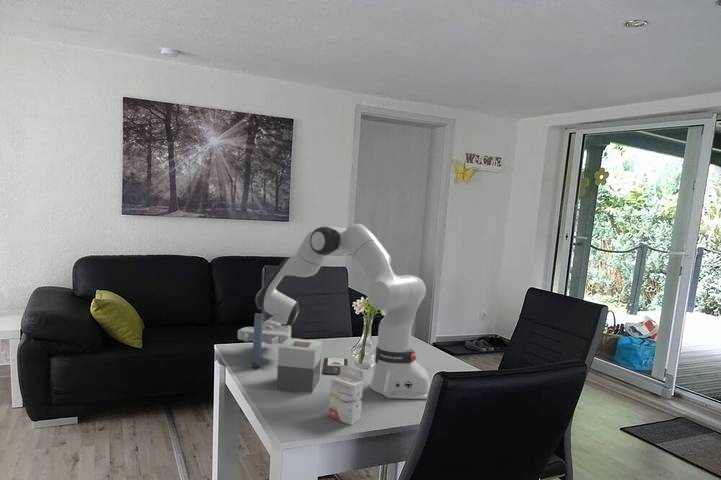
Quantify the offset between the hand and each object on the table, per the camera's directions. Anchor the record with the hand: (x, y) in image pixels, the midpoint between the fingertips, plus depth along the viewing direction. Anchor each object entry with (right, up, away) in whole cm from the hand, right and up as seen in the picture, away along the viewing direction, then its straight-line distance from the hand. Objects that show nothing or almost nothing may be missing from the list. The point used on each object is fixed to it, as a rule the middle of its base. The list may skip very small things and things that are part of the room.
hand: (258, 340), depth 180 cm
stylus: (-1, -10, 0) cm, 10 cm away
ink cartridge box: (+33, -15, -38) cm, 52 cm away
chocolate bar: (+28, -12, +7) cm, 31 cm away
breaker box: (+17, -12, -14) cm, 25 cm away
